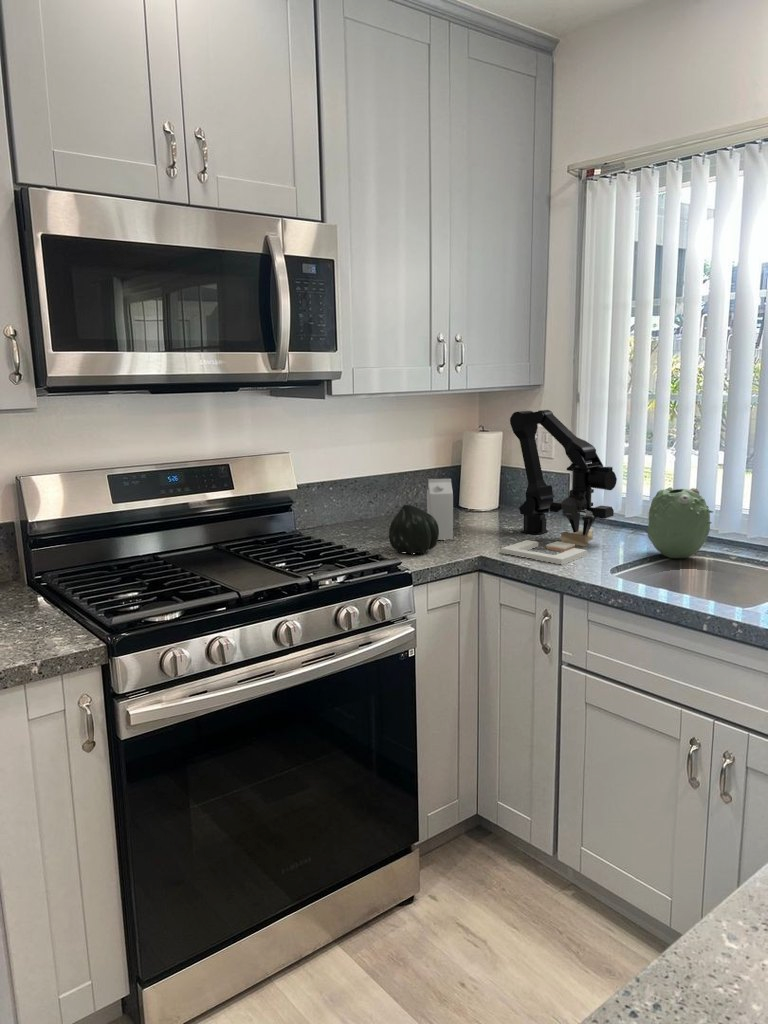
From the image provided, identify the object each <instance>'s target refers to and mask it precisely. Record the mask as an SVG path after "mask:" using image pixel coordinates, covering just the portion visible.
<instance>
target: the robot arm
mask: <svg viewBox="0 0 768 1024" xmlns="http://www.w3.org/2000/svg"><path fill="white" fill-rule="evenodd" d="M509 423H510V427H511V430H512V432H513V434H514V435H515V437H516V438H517V439H518V440H519V443H520V449H521V454H522V459H523V465H524V469H525V474H526V479H527V487H526V490H525V501H524V502H523V503H522V504H521V505H520V506H519V509H518V510H519V513H520V515H523V527H522V528H523V529H522V530H520V533H523V534H530V535H535V536H537V535H538V536H539V535H541V534H545V533H548V531H549V530H548V529H547V521H548V520H547V518H546V514H547V513H549V512H551V513H552V512H553V513H559V512H560V511H562V516H563V517H566V518H567V519H568V521H569V524H570V527H571V529H572V533H574V532H577V531H580V530H579V529H580V519H581V518H582V521H583V525H582V526H583V527H582V530H583V535H587V534H588V532H589V530H590V529H591V527H592V526H593V524H594V522H595V520H596V519H602V520H603V519H609V518H611V517H614V515H615V514H614V512H615V511H614V509H613V507H612V506H608V505H599V506H595V507H594V502H593V501H592V494H593V493H594V492H595V490H594V489H597V490H603V491H604V490H605V491H612V490H613V489H614V488H615V487H616V485H617V480H618V479H617V475H616V473H615V472H614V471H613V470H614V469H613V466H604V464H603V462H602V461H601V459H600V457H599V456H598V454H597V449H596V447H595V446H594V445H593V444H591V443H590V442H588V441H586V440H584V439H582V438H580V437H577V436H576V435H575V434H574V433H573V432H572V431H571V430H570V429H569V428H568V427H567V426H566V425H564V423H563V422H561V420H559V418H558V417H556V416H555V415H554V412H553V411H551V410H550V409H541V410H538V411H532V410H519V411H515V412H513V413H512V414H511V416H510V418H509ZM539 424H540V425H541V426H542V427H543V429H545V430H546V431H547V432H548V433H549V434H550V435H551V436H552V437H553V438H554V439H555V440H556V441H557V442H558V443H559V444H560V445H561V446H562V447H563V449H564V453H565V455H566V456H567V458H568V459H569V460H570V462H571V463H570V465H569V466H567V468H566V471H569V472H572V477H571V478H572V483H571V484H572V485H571V489H569V492H568V493H569V494H568V496H567V497H565V499H564V500H555V501H554V498H555V495H554V492H553V486H552V485H551V484H549V485H548V484H547V483H546V481H544V476H543V471H542V466H541V462H540V460H541V459H540V456H539V450H538V446H537V441H536V434H537V431H538V427H539V426H538V425H539ZM581 513H583V514H585V515H583V516H581Z"/></svg>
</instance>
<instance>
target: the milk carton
mask: <svg viewBox="0 0 768 1024" xmlns="http://www.w3.org/2000/svg"><path fill="white" fill-rule="evenodd" d="M453 492H454V491H453V484H452V478H428V482H427V488H426V513H428V514H430V515H431V516H432V517H434V519H435V520H436V522H437V524H438V528H439V536H438V539H453V540H454V529H453V528H454V493H453Z"/></svg>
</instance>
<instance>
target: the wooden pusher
mask: <svg viewBox="0 0 768 1024" xmlns="http://www.w3.org/2000/svg"><path fill="white" fill-rule="evenodd" d="M592 540H594V529H591V528H590V530H589V532H588V534H587V535H583V529H581V530H579V531H577V532H568V531H562V532H561V533H560V542H565V543H571V544H575V546H579V545H580V546H579V547H587V546H589V541H592Z"/></svg>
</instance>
